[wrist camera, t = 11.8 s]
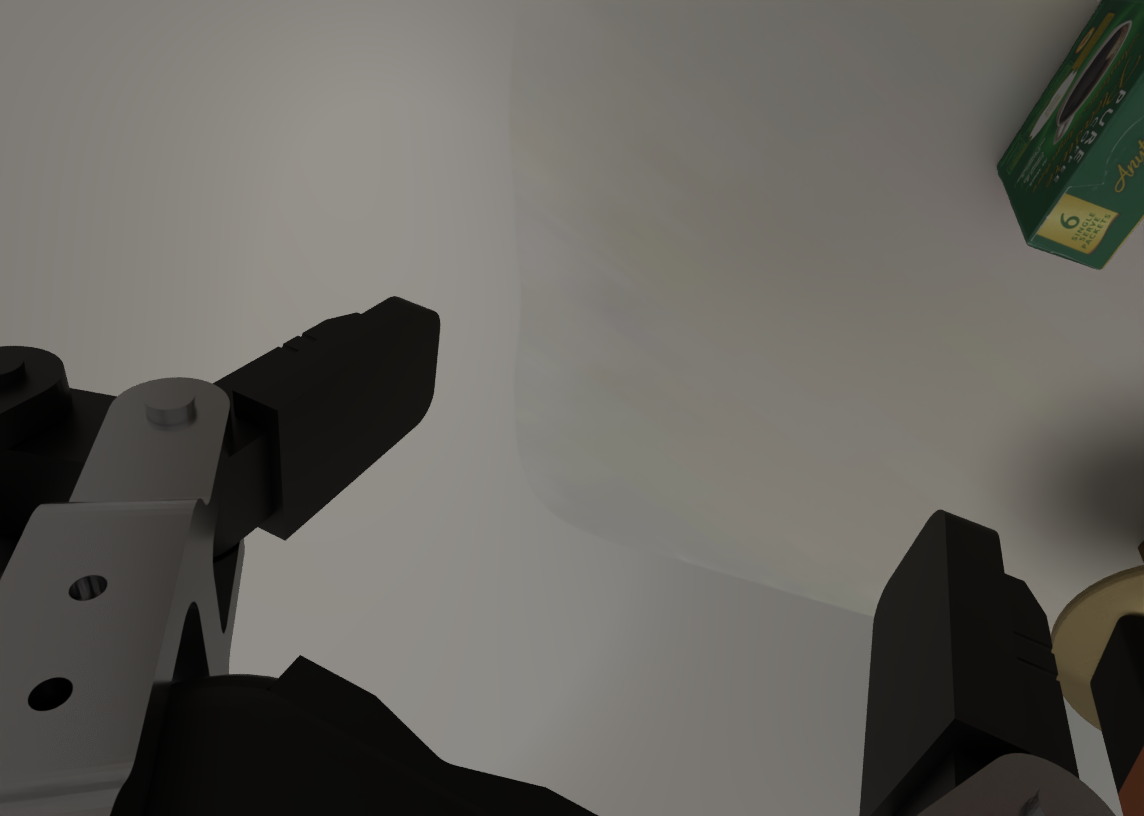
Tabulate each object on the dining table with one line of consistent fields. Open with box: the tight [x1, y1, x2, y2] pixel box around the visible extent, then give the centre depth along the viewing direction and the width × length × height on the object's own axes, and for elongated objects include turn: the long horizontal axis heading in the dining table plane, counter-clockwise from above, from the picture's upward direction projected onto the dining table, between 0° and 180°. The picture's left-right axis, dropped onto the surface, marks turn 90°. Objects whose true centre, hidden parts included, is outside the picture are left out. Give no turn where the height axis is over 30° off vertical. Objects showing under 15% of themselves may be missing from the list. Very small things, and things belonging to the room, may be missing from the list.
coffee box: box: [997, 0, 1144, 270], centre depth 28 cm, size 8×3×13 cm, turn 163°
